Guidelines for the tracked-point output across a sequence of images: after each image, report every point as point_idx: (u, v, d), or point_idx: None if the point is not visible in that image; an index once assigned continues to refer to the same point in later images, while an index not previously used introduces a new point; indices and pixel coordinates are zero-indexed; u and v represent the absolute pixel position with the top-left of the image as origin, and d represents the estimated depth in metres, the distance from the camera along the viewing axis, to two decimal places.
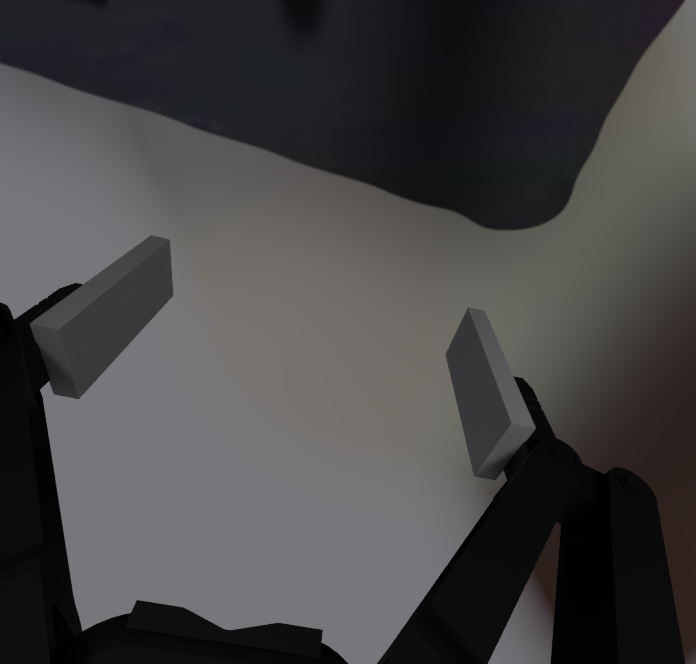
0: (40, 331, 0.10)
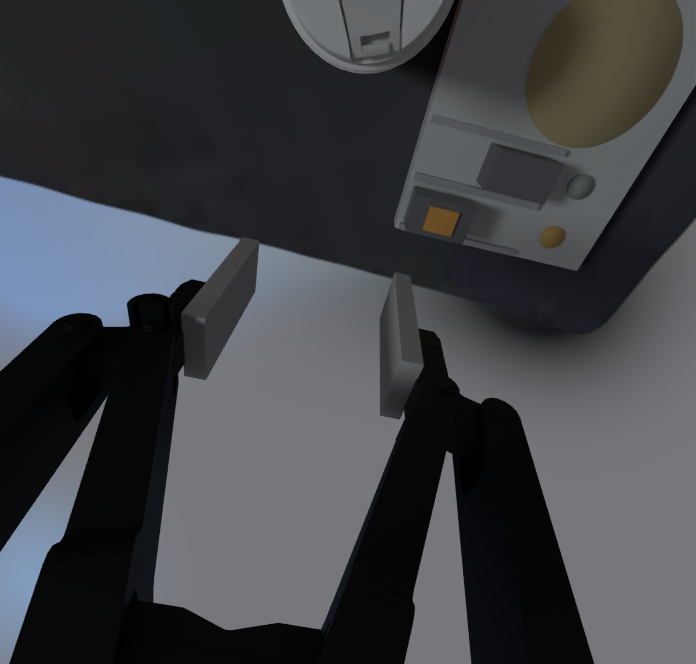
0: (188, 319, 0.12)
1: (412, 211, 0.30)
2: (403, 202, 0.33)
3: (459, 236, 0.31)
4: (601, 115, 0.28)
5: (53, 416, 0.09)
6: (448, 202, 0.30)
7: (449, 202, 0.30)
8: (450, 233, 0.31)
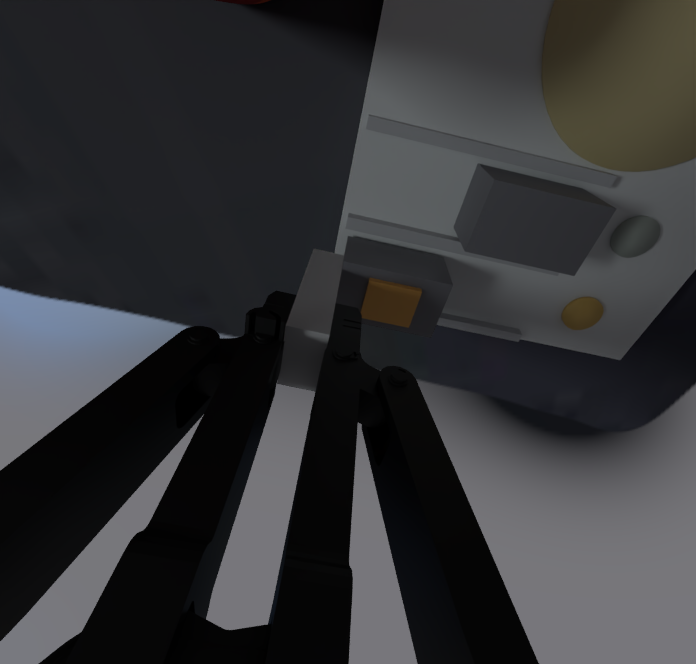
0: (291, 331, 0.12)
1: (339, 287, 0.17)
2: None
3: (424, 325, 0.18)
4: (684, 112, 0.15)
5: (160, 422, 0.10)
6: (401, 272, 0.17)
7: (403, 272, 0.17)
8: (408, 322, 0.18)
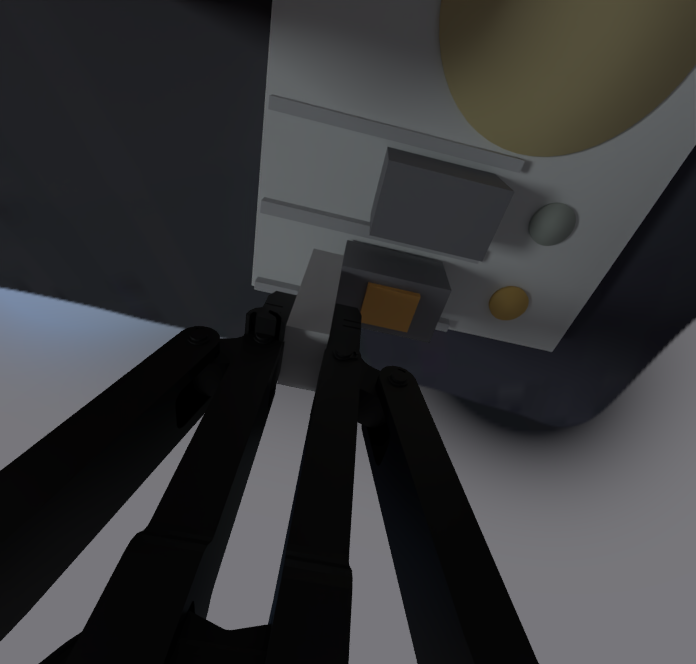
0: (291, 331, 0.12)
1: (338, 291, 0.17)
2: (256, 247, 0.20)
3: (423, 330, 0.18)
4: (586, 95, 0.15)
5: (160, 422, 0.10)
6: (400, 277, 0.17)
7: (402, 277, 0.17)
8: (406, 327, 0.18)
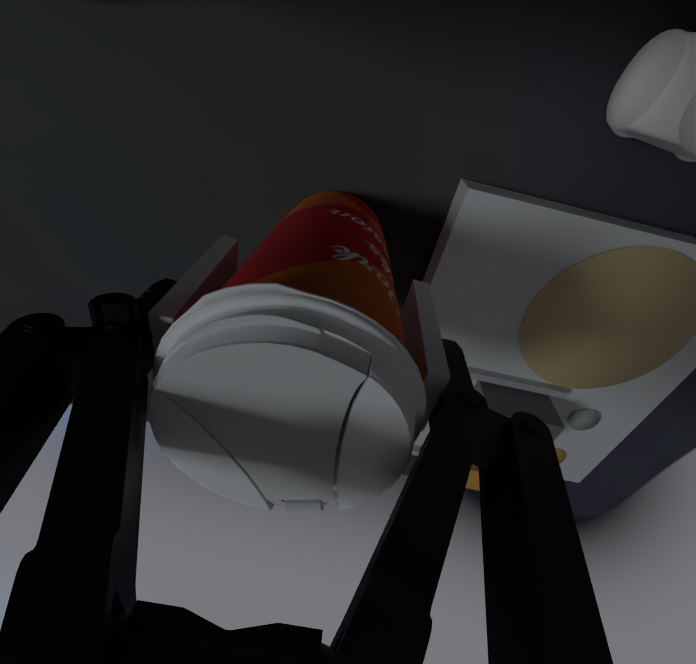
0: (155, 320, 0.11)
1: None
2: None
3: None
4: (609, 363, 0.24)
5: (18, 419, 0.09)
6: None
7: None
8: None
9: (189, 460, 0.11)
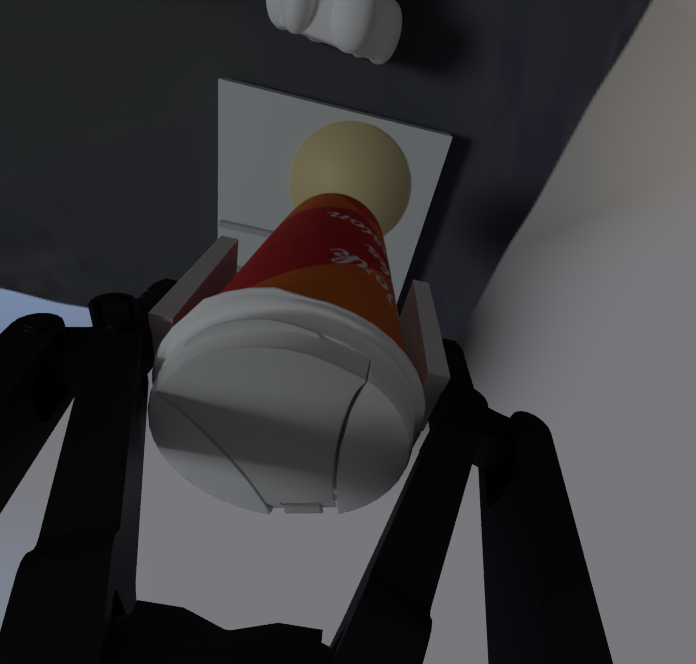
0: (156, 320, 0.11)
1: None
2: None
3: None
4: None
5: (18, 419, 0.09)
6: None
7: None
8: None
9: (188, 463, 0.11)
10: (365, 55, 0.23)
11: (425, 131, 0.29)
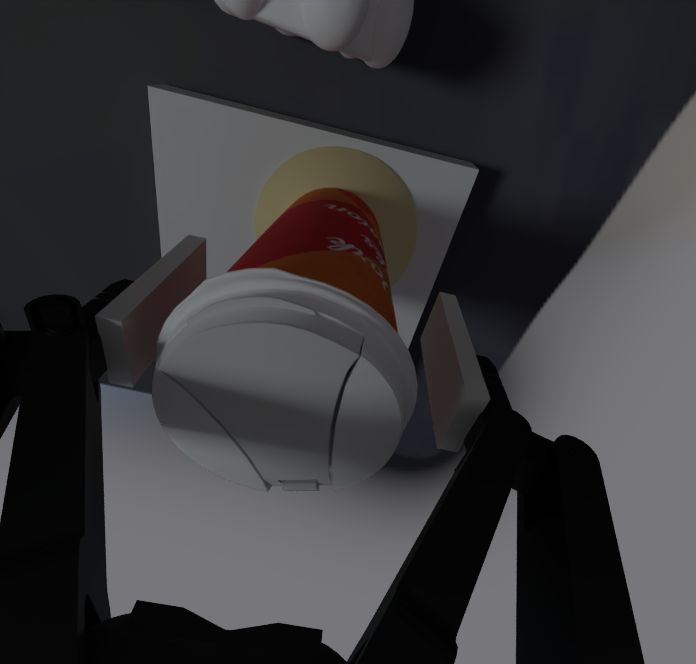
0: (103, 323, 0.11)
1: None
2: None
3: None
4: None
5: None
6: None
7: None
8: None
9: (189, 440, 0.11)
10: (357, 54, 0.15)
11: (441, 162, 0.20)
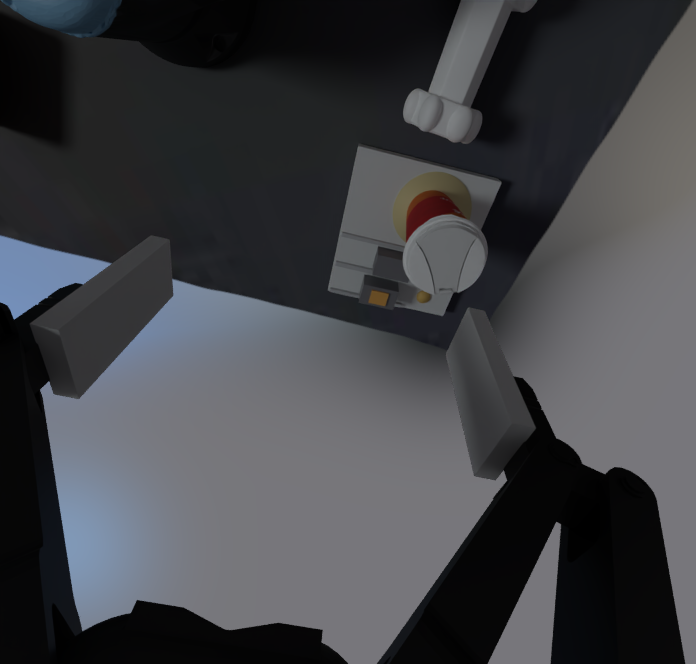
0: (40, 331, 0.10)
1: (362, 292, 0.52)
2: (331, 276, 0.54)
3: (390, 305, 0.53)
4: None
5: None
6: (382, 287, 0.51)
7: (383, 287, 0.52)
8: (384, 304, 0.52)
9: (415, 271, 0.37)
10: (461, 141, 0.40)
11: (484, 178, 0.45)
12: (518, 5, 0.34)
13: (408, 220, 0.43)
